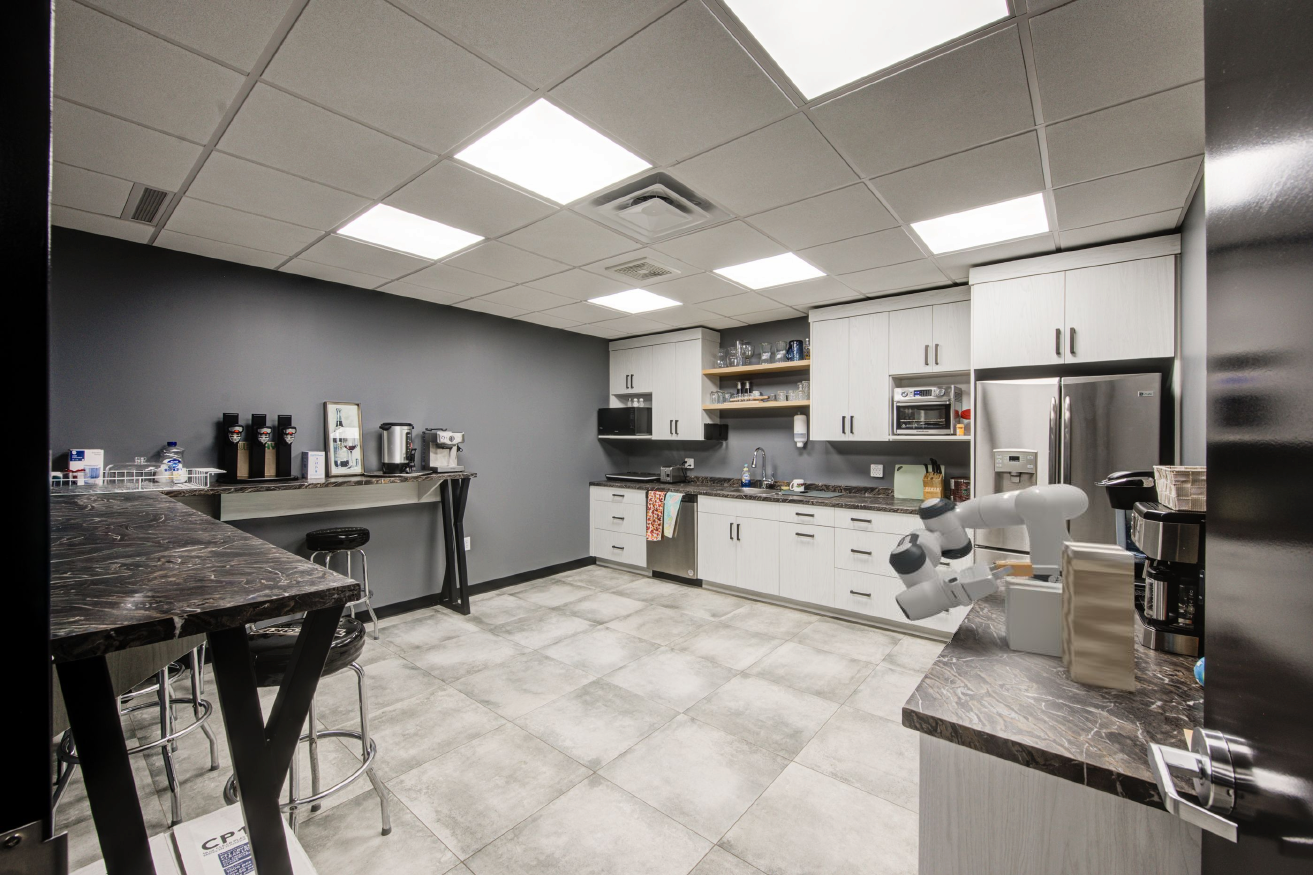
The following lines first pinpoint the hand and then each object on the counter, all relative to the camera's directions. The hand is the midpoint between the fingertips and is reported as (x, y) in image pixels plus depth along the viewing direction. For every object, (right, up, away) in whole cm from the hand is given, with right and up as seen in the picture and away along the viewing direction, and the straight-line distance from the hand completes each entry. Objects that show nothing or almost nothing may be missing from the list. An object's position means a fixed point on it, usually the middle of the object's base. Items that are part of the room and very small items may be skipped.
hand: (1010, 566), depth 138 cm
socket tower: (+6, -20, -19) cm, 28 cm away
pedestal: (+6, -20, -3) cm, 21 cm away
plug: (+3, -2, -2) cm, 4 cm away
